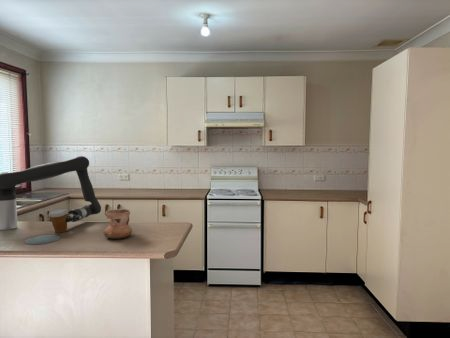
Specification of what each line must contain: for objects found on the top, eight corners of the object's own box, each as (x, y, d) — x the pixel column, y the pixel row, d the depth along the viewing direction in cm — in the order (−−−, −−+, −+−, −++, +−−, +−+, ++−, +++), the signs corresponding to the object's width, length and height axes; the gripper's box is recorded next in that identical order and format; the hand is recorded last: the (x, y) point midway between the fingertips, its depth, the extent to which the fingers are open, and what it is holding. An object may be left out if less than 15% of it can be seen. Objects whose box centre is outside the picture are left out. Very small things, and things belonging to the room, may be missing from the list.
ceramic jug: (119, 242, 164) (119, 215, 163) (96, 239, 169) (96, 212, 168) (140, 234, 181) (140, 208, 180) (118, 231, 186) (118, 206, 185)
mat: (17, 241, 166) (17, 241, 166) (47, 234, 180) (47, 233, 180) (36, 246, 159) (36, 245, 159) (66, 237, 173) (66, 237, 173)
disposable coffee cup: (56, 235, 180) (53, 215, 176) (48, 231, 185) (45, 211, 182) (73, 229, 187) (70, 209, 184) (65, 225, 193) (61, 206, 189)
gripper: (66, 208, 201) (48, 213, 185) (87, 208, 199) (70, 214, 183) (67, 219, 202) (48, 226, 186) (88, 220, 199) (71, 227, 184)
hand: (59, 220), depth 185 cm, fingers closed on disposable coffee cup, 8 cm apart
